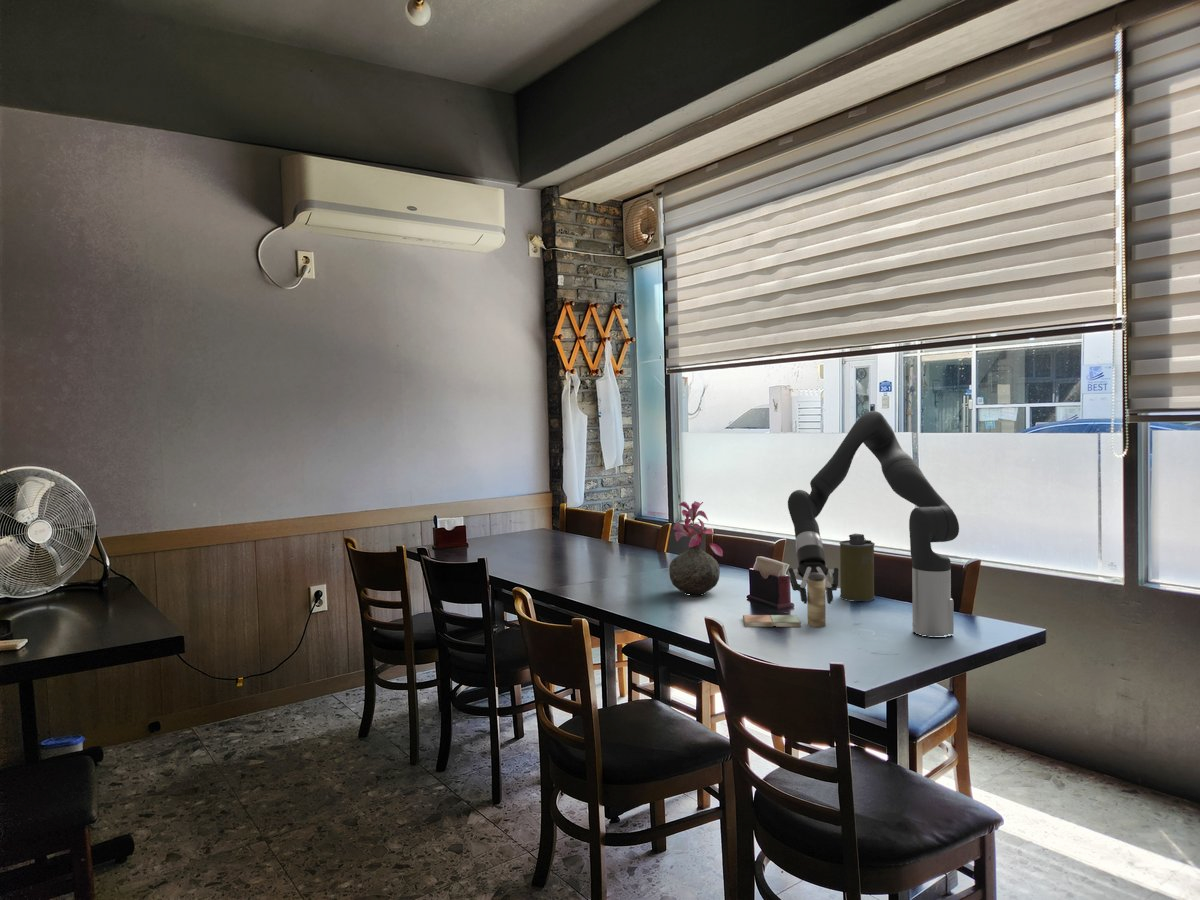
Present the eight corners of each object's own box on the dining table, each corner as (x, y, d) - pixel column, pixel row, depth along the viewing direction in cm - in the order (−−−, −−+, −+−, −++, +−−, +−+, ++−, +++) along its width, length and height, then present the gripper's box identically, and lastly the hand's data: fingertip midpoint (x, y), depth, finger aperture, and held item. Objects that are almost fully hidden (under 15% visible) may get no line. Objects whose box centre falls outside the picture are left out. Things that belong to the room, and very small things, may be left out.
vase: (671, 587, 266) (670, 499, 265) (724, 588, 263) (722, 499, 262) (667, 599, 250) (665, 505, 248) (723, 600, 247) (721, 505, 245)
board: (796, 619, 223) (796, 614, 223) (800, 626, 215) (800, 622, 215) (742, 618, 224) (742, 614, 224) (745, 626, 216) (745, 622, 216)
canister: (860, 603, 239) (859, 538, 238) (832, 597, 248) (832, 534, 247) (882, 598, 245) (882, 534, 244) (855, 592, 254) (855, 530, 253)
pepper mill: (823, 622, 219) (823, 571, 218) (827, 627, 214) (826, 575, 213) (806, 622, 219) (805, 571, 218) (809, 627, 214) (808, 575, 214)
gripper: (833, 558, 228) (842, 609, 216) (783, 558, 229) (789, 609, 218) (837, 543, 222) (846, 594, 211) (785, 543, 224) (791, 594, 212)
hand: (817, 602), depth 214 cm, fingers open, 5 cm apart
